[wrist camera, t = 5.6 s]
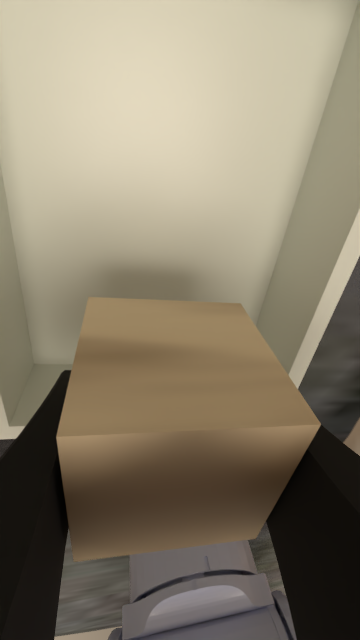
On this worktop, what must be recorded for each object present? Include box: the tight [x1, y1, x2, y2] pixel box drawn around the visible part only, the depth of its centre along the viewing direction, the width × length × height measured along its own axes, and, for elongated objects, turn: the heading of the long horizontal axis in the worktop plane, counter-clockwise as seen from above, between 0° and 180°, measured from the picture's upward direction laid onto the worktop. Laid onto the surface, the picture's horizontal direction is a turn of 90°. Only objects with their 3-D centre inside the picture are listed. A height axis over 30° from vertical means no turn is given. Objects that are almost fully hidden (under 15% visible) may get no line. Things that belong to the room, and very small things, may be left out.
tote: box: [0, 0, 360, 439], centre depth 11 cm, size 18×14×5 cm
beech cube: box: [56, 297, 321, 562], centre depth 9 cm, size 5×5×5 cm
